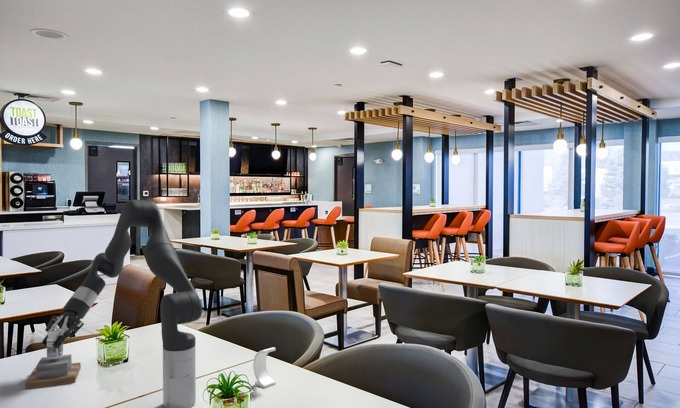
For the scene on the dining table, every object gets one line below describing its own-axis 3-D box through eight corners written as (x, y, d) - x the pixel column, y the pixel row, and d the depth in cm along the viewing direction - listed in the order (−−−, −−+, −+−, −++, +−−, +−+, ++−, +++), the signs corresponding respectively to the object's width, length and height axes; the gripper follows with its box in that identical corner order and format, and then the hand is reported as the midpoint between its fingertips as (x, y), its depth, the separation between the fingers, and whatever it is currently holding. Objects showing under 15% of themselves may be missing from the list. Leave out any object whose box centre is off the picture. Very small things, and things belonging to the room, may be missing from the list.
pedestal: (75, 382, 159) (75, 364, 159) (25, 388, 154) (25, 370, 154) (80, 368, 172) (80, 351, 172) (34, 373, 167) (34, 356, 167)
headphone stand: (264, 388, 155) (264, 351, 155) (253, 382, 160) (253, 346, 159) (275, 384, 159) (275, 347, 158) (264, 379, 163) (264, 343, 163)
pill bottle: (59, 353, 166) (59, 328, 166) (65, 356, 163) (65, 331, 163) (44, 356, 162) (44, 332, 162) (50, 359, 159) (49, 334, 159)
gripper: (59, 294, 172) (27, 337, 161) (88, 298, 166) (56, 343, 155) (73, 306, 177) (42, 348, 166) (101, 310, 171) (71, 354, 161)
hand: (49, 345), depth 161 cm, fingers closed on pill bottle, 4 cm apart
